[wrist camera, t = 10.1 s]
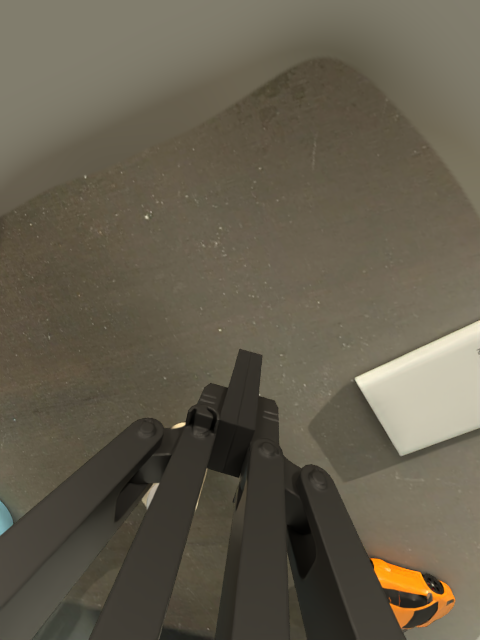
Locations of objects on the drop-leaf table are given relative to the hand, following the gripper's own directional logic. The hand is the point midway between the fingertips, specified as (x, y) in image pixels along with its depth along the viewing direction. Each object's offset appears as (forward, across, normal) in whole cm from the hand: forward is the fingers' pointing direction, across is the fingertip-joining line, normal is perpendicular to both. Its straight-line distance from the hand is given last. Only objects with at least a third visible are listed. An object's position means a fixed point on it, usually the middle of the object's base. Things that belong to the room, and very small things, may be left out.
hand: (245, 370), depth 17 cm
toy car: (+6, +22, -24) cm, 33 cm away
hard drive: (+6, +16, +1) cm, 18 cm away
